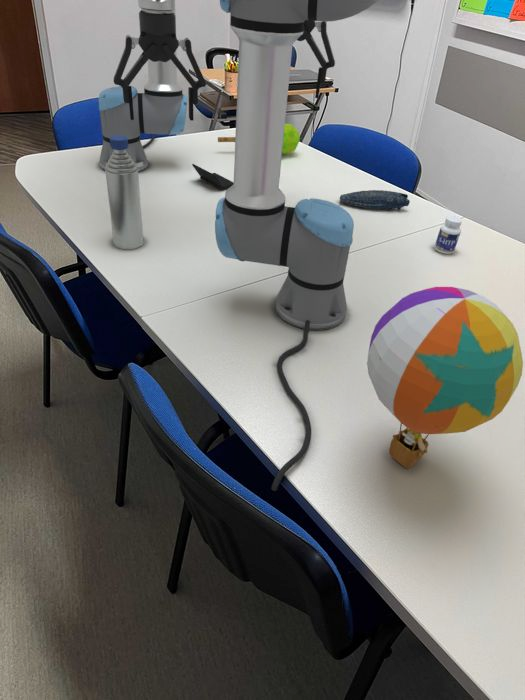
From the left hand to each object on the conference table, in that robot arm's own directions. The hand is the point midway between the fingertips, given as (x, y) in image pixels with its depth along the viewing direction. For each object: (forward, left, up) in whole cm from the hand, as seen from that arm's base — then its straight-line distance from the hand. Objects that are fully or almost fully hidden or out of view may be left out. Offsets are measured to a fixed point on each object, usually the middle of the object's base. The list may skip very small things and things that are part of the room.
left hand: (161, 118), depth 121 cm
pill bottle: (+18, +73, -28) cm, 80 cm away
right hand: (-9, +33, +4) cm, 35 cm away
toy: (+84, +30, -28) cm, 93 cm away
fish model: (-11, +64, -28) cm, 70 cm away
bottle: (+8, -10, -28) cm, 30 cm away
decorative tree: (-58, +38, -28) cm, 75 cm away
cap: (+8, -10, -2) cm, 13 cm away
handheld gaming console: (-30, +17, -28) cm, 44 cm away
